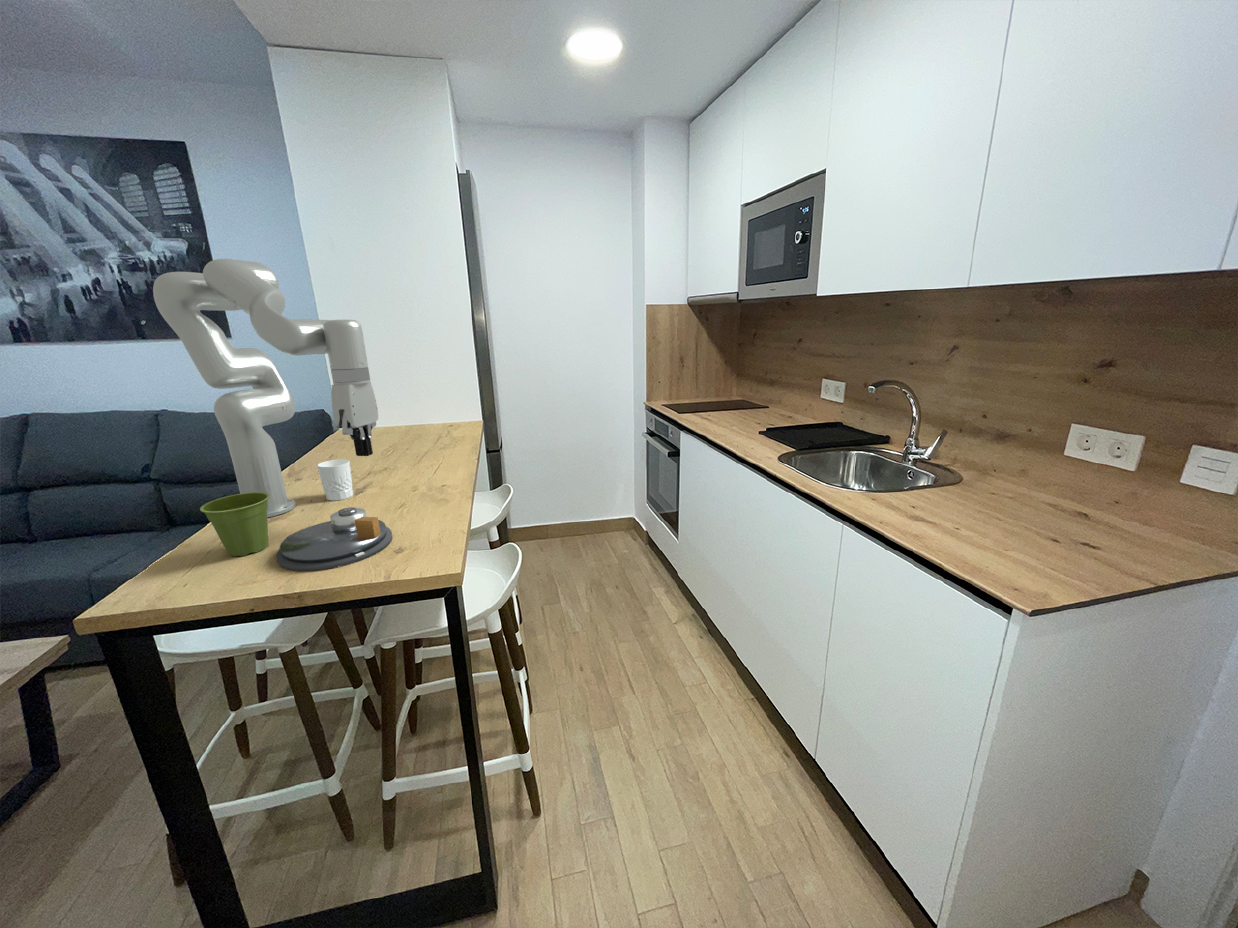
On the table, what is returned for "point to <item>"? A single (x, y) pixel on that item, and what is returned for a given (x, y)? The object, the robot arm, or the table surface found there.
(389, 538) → the turntable base
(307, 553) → the turntable
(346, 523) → the cover
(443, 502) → the table surface
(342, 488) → the white cup
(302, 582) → the table surface
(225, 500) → the plant pot
